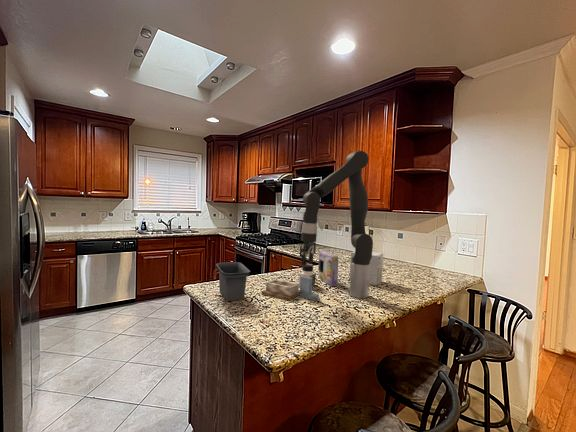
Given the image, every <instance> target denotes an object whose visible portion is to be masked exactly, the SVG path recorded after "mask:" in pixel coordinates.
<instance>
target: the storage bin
mask: <svg viewBox="0 0 576 432" xmlns="http://www.w3.org/2000/svg"><path fill="white" fill-rule="evenodd" d="M215 266H216V269H214V271H213V279H214V280H216V279H217V275H218V280H219V281H218V282H219V283H218V284H219V291H220V292H221V294H222V296H223V297H224V299H225V301H227V302H234V301H235V302H237V301H243V300H244V299H245V294H246V285H247V278H248V277H249V276H250V272H251V270H249V268H247V266H245V265H244V264H243V263H242V262H238V261H230V262H228V261H227V262H219V263H218V262H217V263H216V264H215ZM217 271H218V272H217Z"/></svg>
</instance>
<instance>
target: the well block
mask: <svg viewBox="0 0 576 432" xmlns="http://www.w3.org/2000/svg"><path fill="white" fill-rule="evenodd" d="M265 284H266V286H265V289H263V290H262V291H261V295H264V296H268V297H273V298H277V299H281V300H283V301H289V302H290V301H291V300H293V299H294V298H296V297H298V296H300V285H299V283H297V282H296V283H295V282H291V281H286V280H282V279H276V278H273V279H272V280H270V281H267V282H266V283H265Z"/></svg>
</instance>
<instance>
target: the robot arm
mask: <svg viewBox="0 0 576 432" xmlns="http://www.w3.org/2000/svg"><path fill="white" fill-rule="evenodd" d="M345 160H346V161H345V164H343V165H342V166H341V167H339V168H338V169H337V170H335V171H334V172H332V173H330V174H329V175H328V176H327V177H325V178H324V179H322V180H321V182H319V183H318V184H317V185H315V186H314V187H312V188H311V189H310V190H308V191H307V192H306V193H305V194H303V197H302V202H303V204H304V205H305V211H304V212H303V214H302V215H303V216H302V226H301V237H300V238H301V239H300V240H301V241H302V242H303V244H300V246H299V257H300V258H301V266H302V267H303V266H305V265H306V264H307V257H308V264H310V263H311V264H312V263H314V256H315V254H316V251H317V243H316V242H317V236H318V235H317V234H318V213H319V210H320V209H319V208H320V206H321V199H322V198H323V197H325V196H328V195H330V193H332V191H334V190H335V189H336V188H338V186H340V185H341V184H342V183H343V182H345V181H346V180H347V179H348V190H349V191H348V194H349V197H348V199H349V210H350V222H351V232H350V243H351V245H352V247H353V248H354V249H355V250H354V251H355V255H354V257H352V265H351V280H349V281H350V282H349V285H350V286H349V296H350V297H353V298H357V299H367V298H368V297H369V296H370V295H369V294H370V293H369V292H370V284H369V281H370V278H369V266H370V260H371V258H372V252H373V250H374V249H373V247H374V242H373V238H372V236H371V235H370V234H368V233H367V232H366V225H365V223H366V217H367V214H368V211H369V197H368V193H367V190H366V187H365V185H364V182H363V179H362V169H364V168H366V167H367V165H368V164H369V161H370V159H369V155H368V154H367V152H365V151H364V150H356V151H353V152H351V153H349V154H348V155H347V156H346V159H345Z"/></svg>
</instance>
